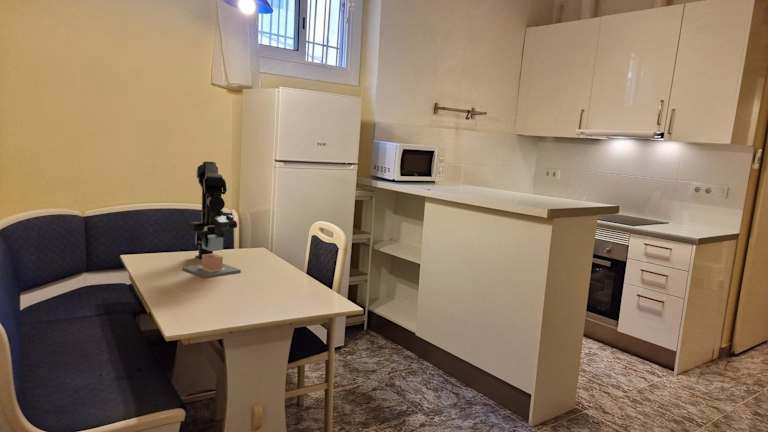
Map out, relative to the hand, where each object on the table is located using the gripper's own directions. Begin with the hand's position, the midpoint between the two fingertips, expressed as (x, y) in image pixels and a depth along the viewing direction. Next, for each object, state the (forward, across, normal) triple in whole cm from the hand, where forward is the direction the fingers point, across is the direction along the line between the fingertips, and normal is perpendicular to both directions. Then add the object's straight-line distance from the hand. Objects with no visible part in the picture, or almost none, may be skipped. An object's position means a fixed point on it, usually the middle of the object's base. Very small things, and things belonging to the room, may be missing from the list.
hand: (212, 246), depth 203 cm
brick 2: (+9, 0, 0) cm, 9 cm away
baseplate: (+10, 0, 0) cm, 10 cm away
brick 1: (+1, 0, 0) cm, 1 cm away
